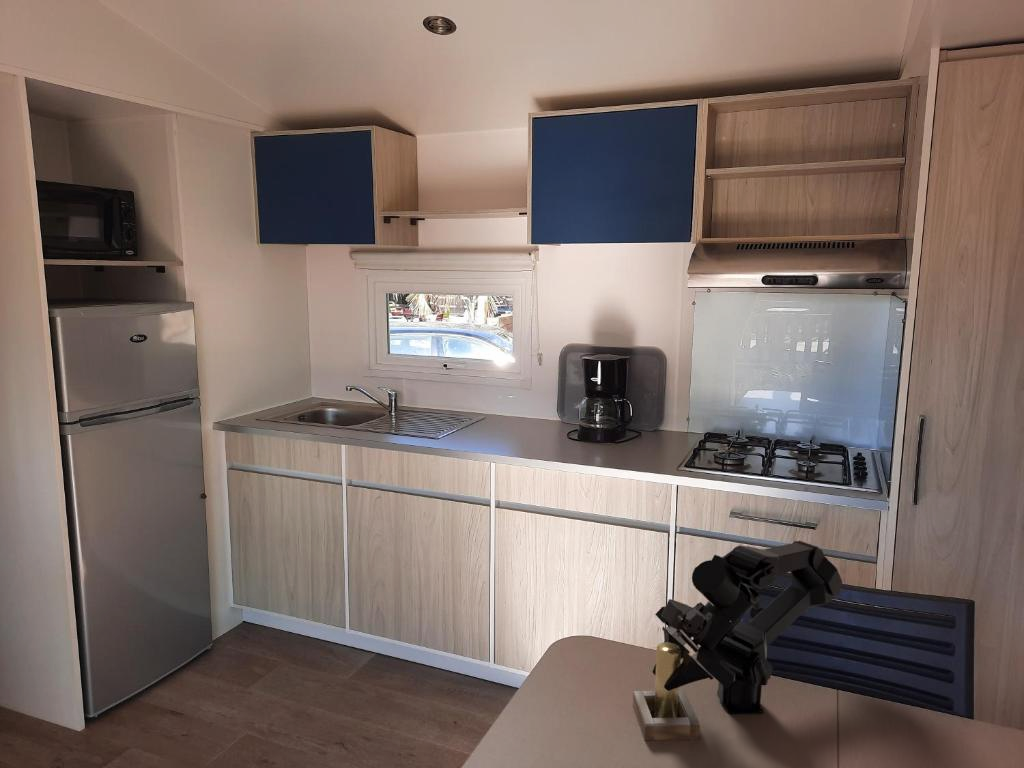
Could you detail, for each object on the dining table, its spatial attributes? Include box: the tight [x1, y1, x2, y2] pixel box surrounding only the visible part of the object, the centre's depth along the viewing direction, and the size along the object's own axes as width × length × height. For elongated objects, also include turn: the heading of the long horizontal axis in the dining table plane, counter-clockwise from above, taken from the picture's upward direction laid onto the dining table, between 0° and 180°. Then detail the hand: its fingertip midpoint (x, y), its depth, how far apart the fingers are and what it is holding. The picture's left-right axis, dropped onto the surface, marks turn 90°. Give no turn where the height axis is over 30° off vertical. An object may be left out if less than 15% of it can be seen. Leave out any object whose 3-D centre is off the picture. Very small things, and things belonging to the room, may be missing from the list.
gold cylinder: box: [653, 642, 682, 718], centre depth 124 cm, size 4×4×12 cm
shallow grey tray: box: [632, 689, 701, 741], centre depth 125 cm, size 9×9×3 cm
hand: (659, 681), depth 124 cm, fingers closed on gold cylinder, 4 cm apart
